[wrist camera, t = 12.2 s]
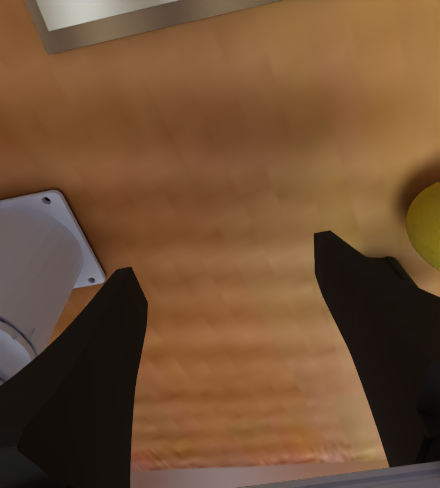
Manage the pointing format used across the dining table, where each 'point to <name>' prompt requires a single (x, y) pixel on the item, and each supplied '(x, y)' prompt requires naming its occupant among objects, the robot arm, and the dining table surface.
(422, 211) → the lemon
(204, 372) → the dining table surface
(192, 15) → the clipboard
